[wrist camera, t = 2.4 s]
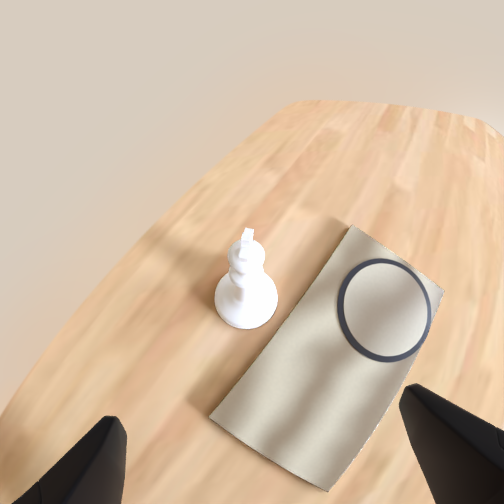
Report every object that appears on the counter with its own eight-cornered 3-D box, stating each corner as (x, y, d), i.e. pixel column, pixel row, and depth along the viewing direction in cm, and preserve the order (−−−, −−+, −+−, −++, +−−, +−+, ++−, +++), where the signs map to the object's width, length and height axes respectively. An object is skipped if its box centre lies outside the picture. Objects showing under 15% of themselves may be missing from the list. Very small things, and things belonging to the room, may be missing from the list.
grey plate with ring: (441, 292, 24) (445, 290, 23) (326, 490, 17) (328, 493, 16) (350, 227, 27) (352, 223, 26) (209, 416, 19) (207, 417, 19)
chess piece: (208, 322, 23) (183, 275, 14) (221, 264, 25) (209, 189, 16) (272, 334, 22) (290, 294, 13) (281, 274, 24) (301, 203, 15)
